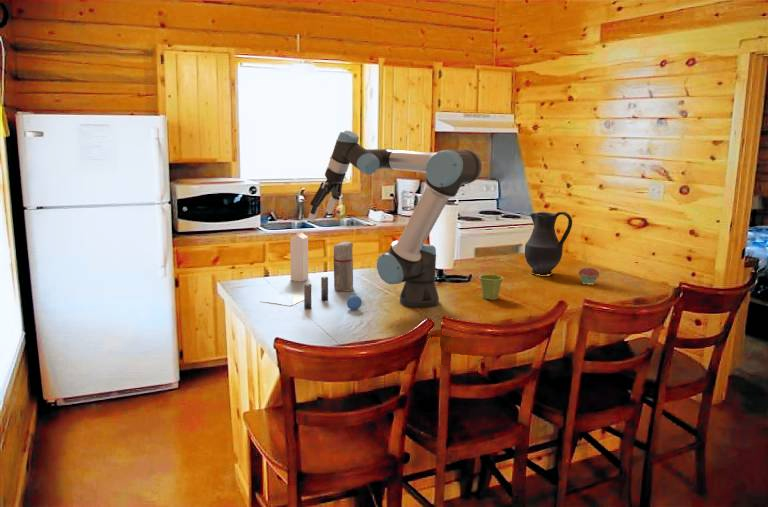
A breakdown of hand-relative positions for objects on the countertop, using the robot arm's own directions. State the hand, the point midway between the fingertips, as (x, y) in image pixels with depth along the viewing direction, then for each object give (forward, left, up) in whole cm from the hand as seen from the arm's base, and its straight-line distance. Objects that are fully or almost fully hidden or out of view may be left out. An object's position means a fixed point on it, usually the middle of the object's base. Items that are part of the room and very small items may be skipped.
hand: (319, 216), depth 247 cm
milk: (+17, -12, -31) cm, 38 cm away
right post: (-9, +12, -31) cm, 34 cm away
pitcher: (-79, -73, -31) cm, 112 cm away
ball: (-25, +18, -28) cm, 41 cm away
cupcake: (-99, -64, -31) cm, 122 cm away
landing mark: (+5, +18, -31) cm, 36 cm away
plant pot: (-66, -21, -31) cm, 76 cm away
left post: (-9, +24, -31) cm, 40 cm away
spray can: (-8, -6, -31) cm, 33 cm away
